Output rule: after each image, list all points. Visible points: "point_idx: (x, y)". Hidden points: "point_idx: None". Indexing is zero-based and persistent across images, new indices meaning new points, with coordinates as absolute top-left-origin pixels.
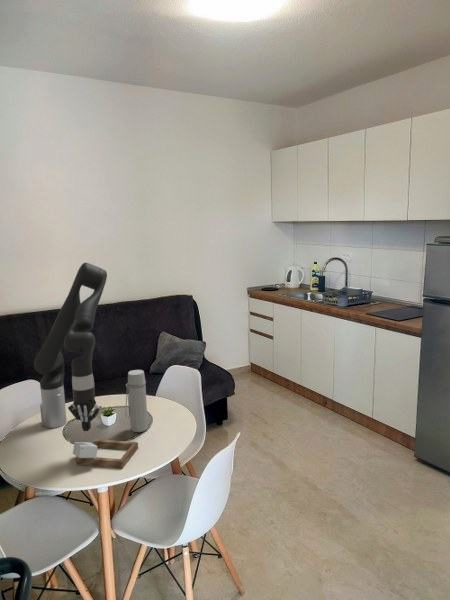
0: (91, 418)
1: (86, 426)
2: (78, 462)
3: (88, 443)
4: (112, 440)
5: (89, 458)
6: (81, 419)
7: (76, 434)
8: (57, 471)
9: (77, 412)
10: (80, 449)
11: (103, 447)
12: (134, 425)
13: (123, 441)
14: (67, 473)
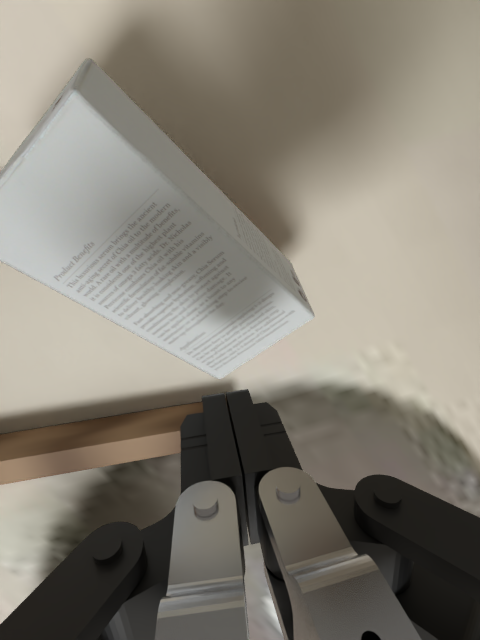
0: (83, 579)
1: (207, 433)
2: None
3: (181, 327)
4: (109, 464)
5: None
6: (304, 501)
7: (399, 467)
8: (288, 59)
9: (472, 629)
10: (74, 79)
11: (164, 408)
12: None
13: (21, 477)
14: (196, 47)
